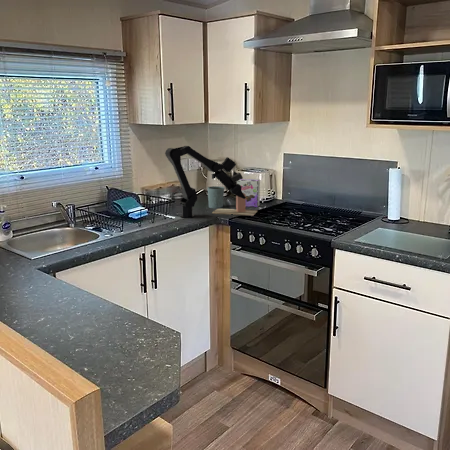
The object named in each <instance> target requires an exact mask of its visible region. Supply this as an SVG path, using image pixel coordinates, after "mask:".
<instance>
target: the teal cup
mask: <svg viewBox="0 0 450 450" xmlns="http://www.w3.org/2000/svg"><path fill="white" fill-rule="evenodd" d="M224 193H225V186H216V185H215V186H208V187H207V199H208V208H210V209H223V206H224Z"/></svg>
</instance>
